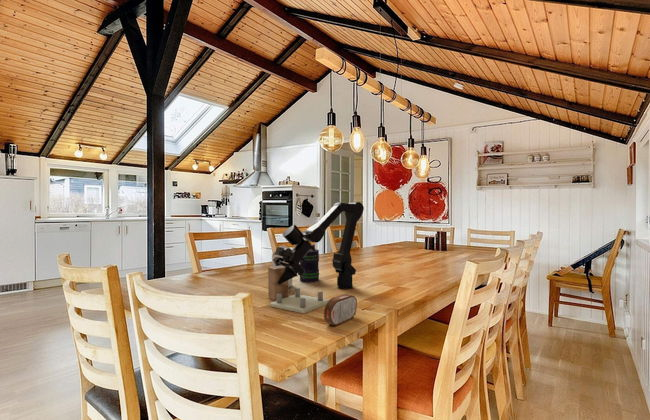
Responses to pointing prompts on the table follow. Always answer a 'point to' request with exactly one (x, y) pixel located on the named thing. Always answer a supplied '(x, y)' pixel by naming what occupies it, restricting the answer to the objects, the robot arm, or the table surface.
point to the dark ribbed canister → (310, 267)
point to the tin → (340, 309)
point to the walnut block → (276, 282)
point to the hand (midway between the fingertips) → (275, 282)
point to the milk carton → (284, 260)
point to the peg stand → (299, 302)
